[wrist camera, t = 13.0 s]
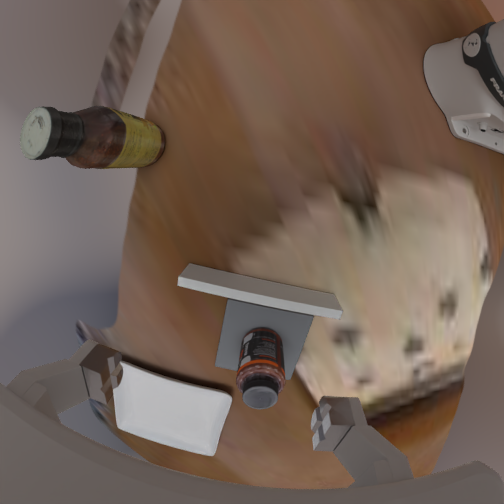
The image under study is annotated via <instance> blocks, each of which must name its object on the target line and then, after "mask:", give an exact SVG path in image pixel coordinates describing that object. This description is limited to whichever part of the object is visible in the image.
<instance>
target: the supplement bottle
mask: <svg viewBox="0 0 504 504" xmlns="http://www.w3.org/2000/svg"><path fill="white" fill-rule="evenodd" d="M236 384H237V386H238V389H239V390H240V391H241V393H243V396H242V397H243V401H244V403H245V404H246V405H248V406H249V407H251V408H254V409H266V408H270V407H271V406H273V405H274V404H275V403H276V402H277V400H278V394H279V393H280V392H281V391H282V390H283V388H284V386H285V365H284V352H283V344H282V340H281V338H280V336H279V335H278V334H277V333H275V332H274V331H272V330H269V329H264V328H260V329H255V330H252V331H250V332H249V333H247V334H246V335H245V336H244V338H243V340H242V343H241V350H240V356H239V363H238V370H237V377H236Z"/></svg>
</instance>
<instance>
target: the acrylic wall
mask: <svg viewBox="0 0 504 504" xmlns="http://www.w3.org/2000/svg"><path fill="white" fill-rule="evenodd" d="M178 286H181V287H185V288H189V289H193V290H197V291H202V292H206V293H210V294H214V295H219V296H223V297H228V298H232V299H237V300H241V301H246V302H251V303H255V304H260V305H265V306H270V307H275V308H280V309H285V310H290V311H295V312H300V313H306V314H311V315H317V316H322V317H328V318H334V319H340V318H341V315H342V313H343V310H342V308H341V306H340V304H339V302H338V300H337V299H336V297H335V295H334V294H330V293H325V292H320V291H315V290H310V289H305V288H300V287H295V286H291V285H286V284H281V283H276V282H272V281H267V280H262V279H258V278H253V277H248V276H244V275H239V274H235V273H230V272H226V271H221V270H217V269H212V268H208V267H204V266H199V265H195V264H191V263H189V264H188V266H187V267H186V268H185V269H184V270H183V272H182V273H181V274H180V275H179V278H178Z"/></svg>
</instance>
